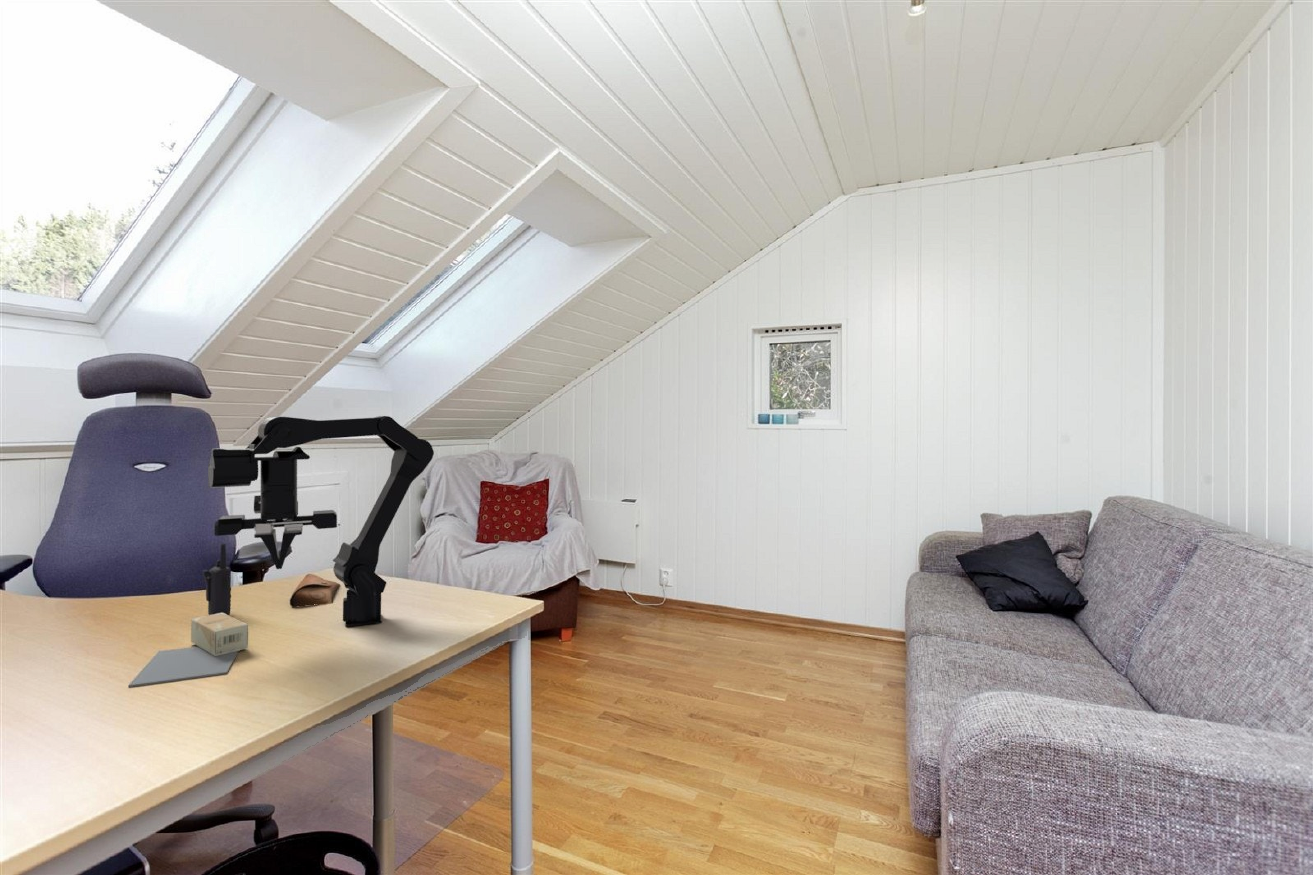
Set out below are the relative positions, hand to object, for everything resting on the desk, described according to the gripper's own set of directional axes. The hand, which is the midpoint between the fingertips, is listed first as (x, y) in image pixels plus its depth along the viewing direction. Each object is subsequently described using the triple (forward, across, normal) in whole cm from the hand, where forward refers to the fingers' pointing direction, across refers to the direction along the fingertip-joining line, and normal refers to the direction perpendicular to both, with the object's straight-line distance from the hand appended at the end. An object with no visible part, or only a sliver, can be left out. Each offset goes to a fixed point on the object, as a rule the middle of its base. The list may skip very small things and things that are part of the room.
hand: (279, 568), depth 109 cm
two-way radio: (+13, +12, -20) cm, 27 cm away
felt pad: (+13, +12, +8) cm, 19 cm away
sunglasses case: (+14, -6, -29) cm, 32 cm away
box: (+10, +6, +6) cm, 14 cm away
